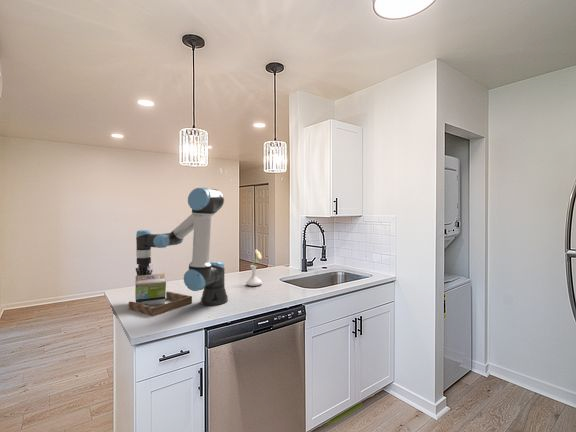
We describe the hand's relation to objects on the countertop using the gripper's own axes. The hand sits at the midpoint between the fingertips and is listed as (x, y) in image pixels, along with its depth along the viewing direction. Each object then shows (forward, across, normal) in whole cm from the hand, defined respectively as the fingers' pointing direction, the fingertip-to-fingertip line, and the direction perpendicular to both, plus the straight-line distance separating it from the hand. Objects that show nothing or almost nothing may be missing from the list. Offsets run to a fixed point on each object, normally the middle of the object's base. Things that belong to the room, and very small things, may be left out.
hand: (144, 297), depth 173 cm
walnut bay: (+2, -16, 0) cm, 16 cm away
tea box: (+1, -7, 0) cm, 7 cm away
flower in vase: (+2, -31, -64) cm, 71 cm away
